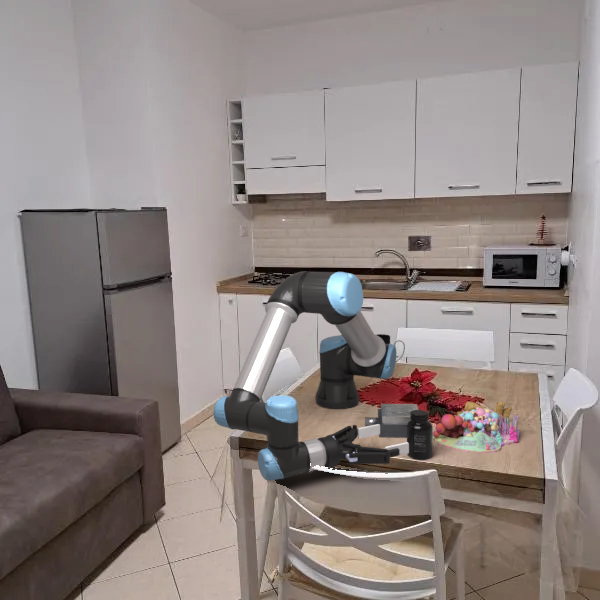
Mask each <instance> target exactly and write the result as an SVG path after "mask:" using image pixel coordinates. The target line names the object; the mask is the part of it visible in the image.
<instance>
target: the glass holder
mask: <svg viewBox="0 0 600 600" xmlns="http://www.w3.org/2000/svg"><path fill="white" fill-rule="evenodd" d="M376 335H377V336H379V337H380V338H381V339H382V340H383V341H384V343H385V344H389V343H390V344H391V335H389V334H385V333H384V334H383V333H380V334H379V333H378V334H376ZM397 342H400V343H402V344H403V345H402V346H403V351H402V354H401V356H400V357H399V358H398V359H396V363H398V362H399V360H401V359H402V358H403V356H404V354H405V350H406V346H405V345H406V344H405V342H404V341H402V340H401V339H400V340H396V341H395V342H394V343H393V345H395V346H396V344H397Z"/></svg>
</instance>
